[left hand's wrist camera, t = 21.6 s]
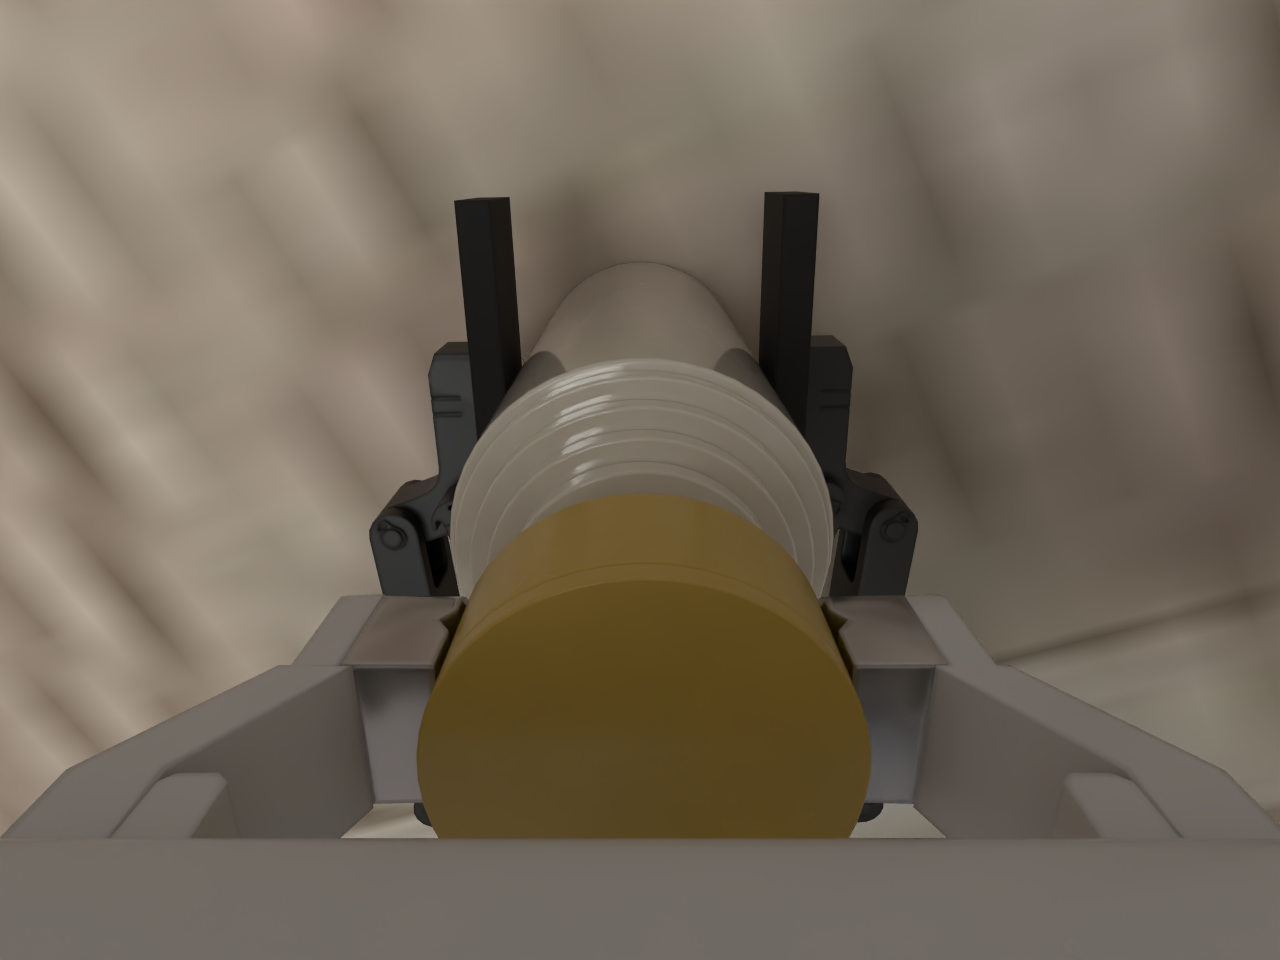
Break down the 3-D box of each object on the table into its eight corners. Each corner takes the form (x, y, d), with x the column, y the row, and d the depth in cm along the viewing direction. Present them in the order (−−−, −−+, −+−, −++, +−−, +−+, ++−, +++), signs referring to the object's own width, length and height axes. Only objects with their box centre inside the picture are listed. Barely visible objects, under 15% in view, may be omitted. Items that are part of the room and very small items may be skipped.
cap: (677, 855, 11) (685, 1000, 9) (391, 693, 10) (332, 817, 8) (903, 627, 10) (968, 739, 8) (599, 414, 9) (588, 483, 7)
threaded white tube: (561, 242, 24) (375, 409, 7) (758, 284, 25) (1027, 536, 8) (530, 432, 26) (330, 910, 9) (711, 468, 27) (838, 984, 10)
